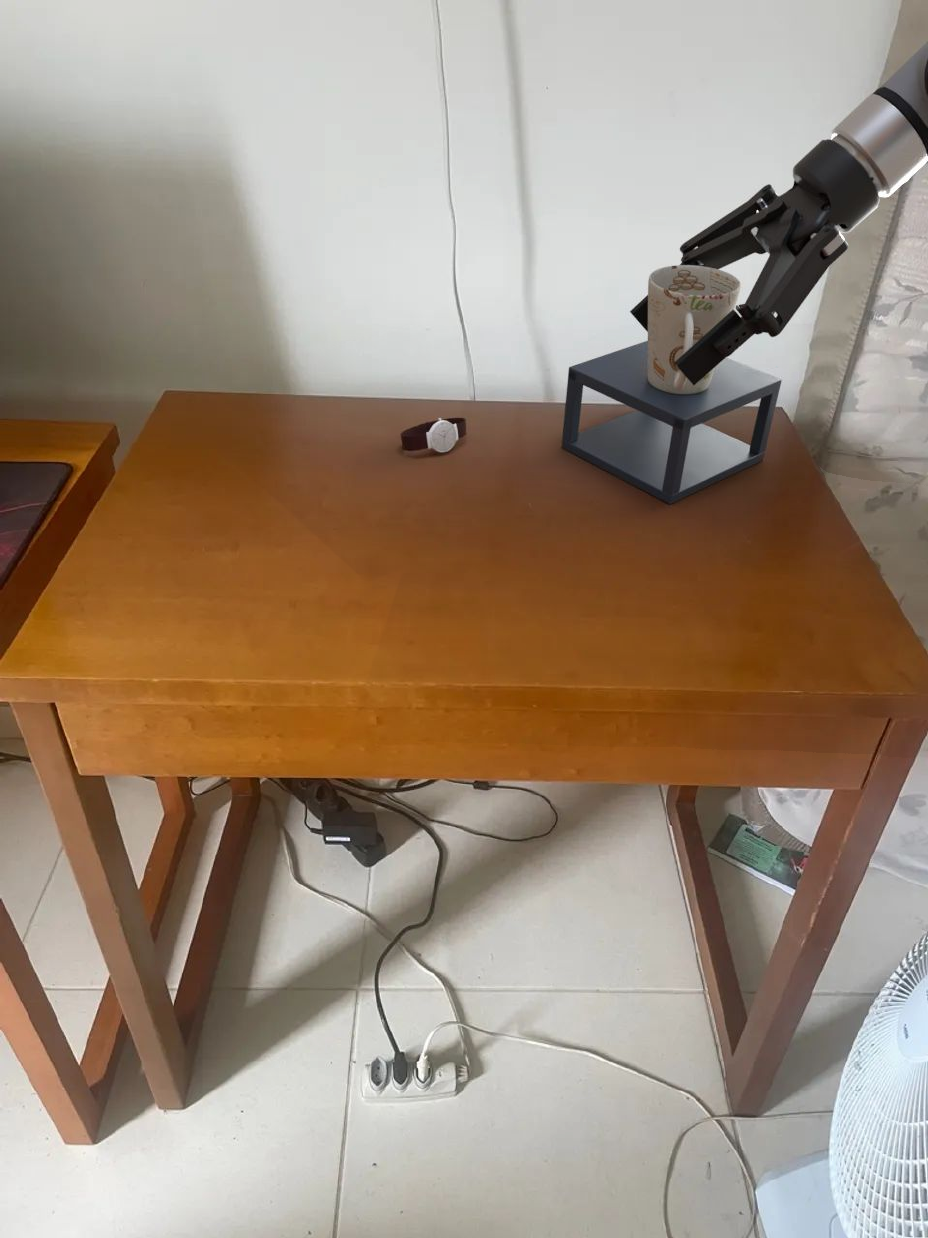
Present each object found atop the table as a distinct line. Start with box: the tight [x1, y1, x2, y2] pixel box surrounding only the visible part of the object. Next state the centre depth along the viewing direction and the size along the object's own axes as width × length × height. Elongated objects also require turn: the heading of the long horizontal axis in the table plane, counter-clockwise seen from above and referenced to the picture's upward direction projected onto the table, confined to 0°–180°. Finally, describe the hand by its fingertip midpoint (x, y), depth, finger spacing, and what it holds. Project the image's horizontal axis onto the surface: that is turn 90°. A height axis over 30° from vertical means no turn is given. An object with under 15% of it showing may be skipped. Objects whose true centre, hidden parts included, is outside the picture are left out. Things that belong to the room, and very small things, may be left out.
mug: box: [647, 264, 742, 394], centre depth 92 cm, size 8×13×10 cm, turn 172°
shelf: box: [561, 340, 783, 505], centre depth 101 cm, size 15×15×9 cm
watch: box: [400, 417, 467, 453], centre depth 103 cm, size 8×5×4 cm, turn 126°
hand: (659, 347), depth 92 cm, fingers closed on mug, 12 cm apart
